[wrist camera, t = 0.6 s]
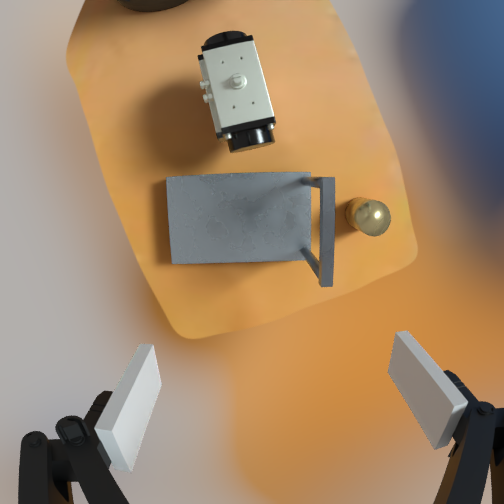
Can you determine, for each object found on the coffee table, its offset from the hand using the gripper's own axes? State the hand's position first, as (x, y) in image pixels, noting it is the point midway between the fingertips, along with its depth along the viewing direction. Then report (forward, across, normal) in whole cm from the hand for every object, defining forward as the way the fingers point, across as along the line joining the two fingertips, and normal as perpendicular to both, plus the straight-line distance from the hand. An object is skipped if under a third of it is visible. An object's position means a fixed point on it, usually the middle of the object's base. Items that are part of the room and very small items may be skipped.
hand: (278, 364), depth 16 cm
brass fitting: (+24, +13, +4) cm, 28 cm away
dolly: (+24, -2, +4) cm, 25 cm away
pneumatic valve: (+25, -2, +17) cm, 30 cm away
